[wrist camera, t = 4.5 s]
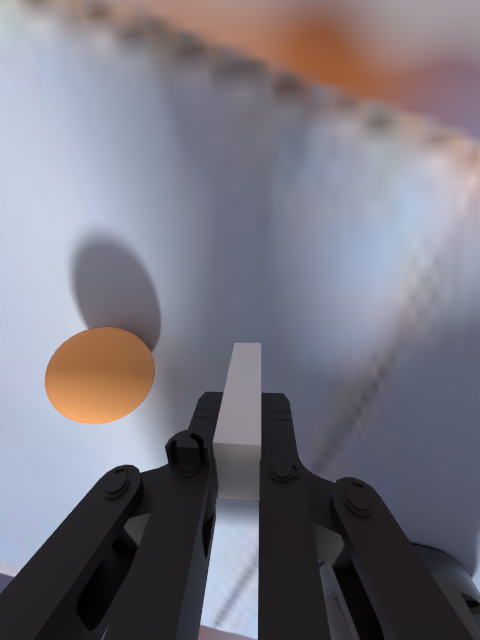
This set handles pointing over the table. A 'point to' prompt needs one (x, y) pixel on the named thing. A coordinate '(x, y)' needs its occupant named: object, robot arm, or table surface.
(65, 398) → the ball
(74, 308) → the table surface
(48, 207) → the table surface
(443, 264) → the table surface
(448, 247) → the table surface
